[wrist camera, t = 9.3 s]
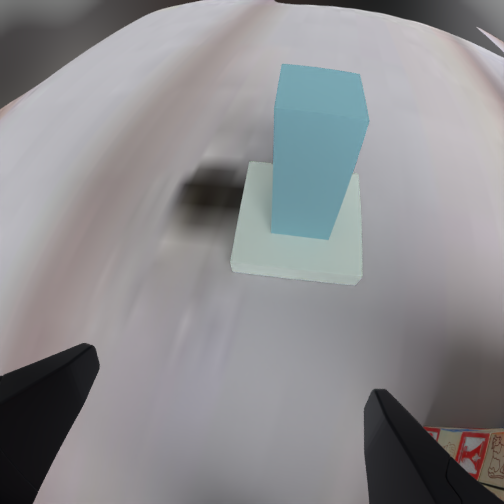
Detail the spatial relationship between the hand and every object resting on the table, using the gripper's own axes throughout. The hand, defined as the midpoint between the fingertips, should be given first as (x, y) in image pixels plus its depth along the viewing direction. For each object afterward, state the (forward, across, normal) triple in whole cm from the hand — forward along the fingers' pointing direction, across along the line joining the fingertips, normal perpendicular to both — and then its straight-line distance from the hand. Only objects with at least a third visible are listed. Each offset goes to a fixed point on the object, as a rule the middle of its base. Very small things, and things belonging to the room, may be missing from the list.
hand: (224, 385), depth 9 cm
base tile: (+19, -2, 0) cm, 20 cm away
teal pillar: (+18, -2, -2) cm, 18 cm away
